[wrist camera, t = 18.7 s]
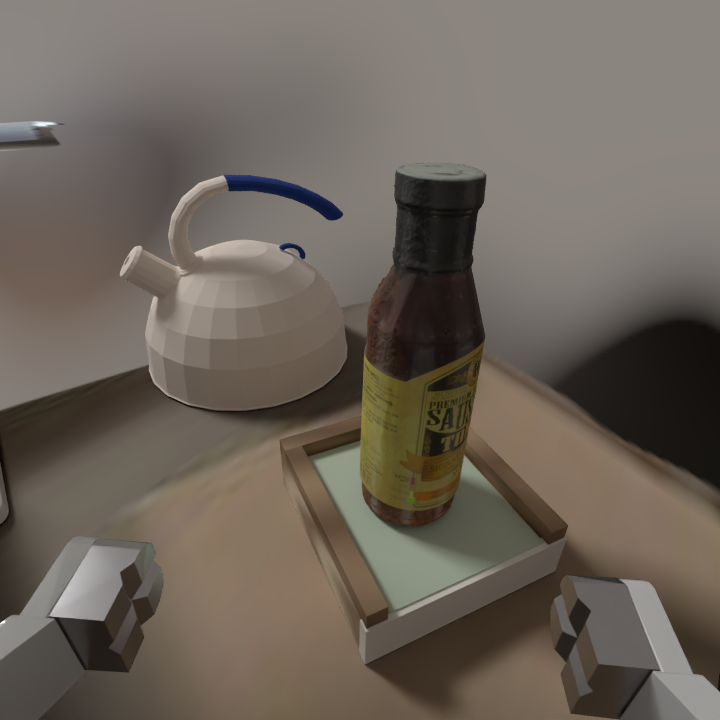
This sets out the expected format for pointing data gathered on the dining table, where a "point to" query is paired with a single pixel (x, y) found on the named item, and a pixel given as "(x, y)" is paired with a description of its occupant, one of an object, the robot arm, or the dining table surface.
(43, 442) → the dining table surface
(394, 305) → the sauce bottle
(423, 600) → the dock
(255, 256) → the kettle
